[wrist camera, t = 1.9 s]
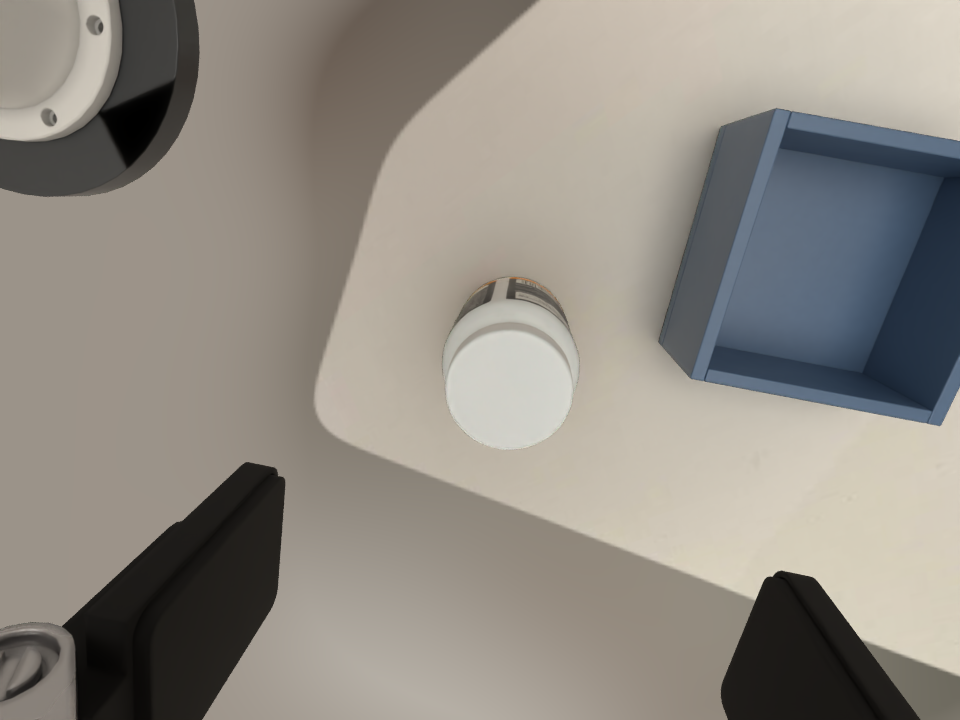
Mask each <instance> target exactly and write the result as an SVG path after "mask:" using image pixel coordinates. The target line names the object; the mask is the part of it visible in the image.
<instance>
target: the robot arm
mask: <svg viewBox="0 0 960 720" xmlns="http://www.w3.org/2000/svg"><path fill="white" fill-rule="evenodd" d="M121 56H122V20H121V13H120V6H119V0H0V138H1V139H6V140H15V141H24V142H41V141H50V140H54V139H58V138H62V137H65V136H68V135H69V134H71V133H73V132H75V131H77V130H79V129H80V128H82V127H84V126H85V125H86V124H87V123H88V122H89V121H90V120H91V119H92V118H93V117H95V116H96V115H97V114H98V112H99V111H100V109H101V108H102V106H103V105H104V104H105V102H106V101H107V99H108V98H109V96H110V94H111V91H112V89H113V86H114V84H115V81H116V79H117V76H118V71H119V66H120V61H121ZM284 495H285V479H284V478H283V477H280V476H278V472H277V469H275V468H274V467H269V466H264V465H259V464H254V463H249V462H246V463H244V464H243V465H241V466H240V467H239V468H238V469H237V470H236V471H235V472H234V473H233V474H232V475H231V476H230V477H229V478H228V479H227V480H226V481H224V482H223V483H222V484H221V485H220V486H219V487H218V488H217V489H216V490H215V491H214V492H213V493H212V494H211V495H210V496H208V498H206V499H205V500H204V501H203V502H202V503H201V504H200V505H199V506H198V507H197V508H196V509H195V510H194V511H192V512H191V513H190V514H189V515H188V516H187V517H186V518H185V519H184V520H183V521H180V522H176V523H175V524H173V525H172V526H170V527H169V528H168V529H167V530H166V531H165V532H164V533H163V534H161V536H159V537H158V538H157V539H156V540H155V541H154V542H153V543H152V544H151V545H150V546H148V547H147V548H146V549H145V550H144V551H143V552H142V553H141V554H140V555H139V556H138V557H137V558H135V559H134V560H133V561H132V562H131V563H130V564H129V565H128V566H127V567H126V568H125V569H124V570H122V571H121V572H120V573H119V574H118V575H117V576H116V577H115V578H114V579H113V580H112V581H111V582H109V584H107V585H106V586H105V587H104V588H103V589H102V590H101V591H100V592H99V593H98V594H96V595H95V596H94V597H93V598H92V599H91V600H90V601H89V602H88V603H87V604H86V605H85V606H84V607H82V608H81V609H80V610H79V611H78V612H77V613H76V614H75V615H74V616H73V617H72V618H70V619H69V620H68V621H67V622H66V623H65V624H64V625H63V626H62V627H61V626H58V625H54V624H51V623H39V622H38V623H36V622H30V623H23V624H17V625H12V626H8V627H5V628H2V629H0V720H202V719H203V717H204V716H205V714H206V713H207V711H208V709H209V708H210V706H211V705H212V703H213V701H214V700H215V698H216V696H217V695H218V693H219V692H220V690H221V688H222V687H223V685H224V684H225V682H226V681H227V679H228V677H229V676H230V674H231V673H232V671H233V669H234V668H235V666H236V665H237V663H238V661H239V660H240V658H241V656H242V655H243V653H244V652H245V650H246V649H247V647H248V645H249V644H250V642H251V640H252V639H253V637H254V636H255V634H256V632H257V631H258V629H259V628H260V626H261V624H262V623H263V621H264V620H265V618H266V616H267V615H268V613H269V612H270V610H271V608H272V606H273V604H274V601H275V598H276V595H277V590H278V578H279V577H278V576H279V564H280V550H281V536H282V522H283V509H284ZM721 699H722V704H723V708H724V710H725V713H726V715H727V718H728V720H920V719H919V717H918V716H917V715H916V713H915V712H914V710H913V709H912V708H911V706H910V705H909V704H908V703H907V701H906V700H905V698H904V697H903V696H902V694H901V693H900V692H899V690H898V689H897V688H896V686H895V685H894V684H893V682H892V681H891V680H890V678H889V677H888V676H887V674H886V673H885V671H884V670H883V669H882V667H881V666H880V665H879V663H878V662H877V661H876V659H875V658H874V657H873V656H872V654H871V653H870V651H869V650H868V649H867V647H866V646H865V645H864V643H863V642H862V641H861V639H860V638H859V636H858V635H857V634H856V632H855V631H854V630H853V628H852V627H851V626H850V624H849V623H848V622H847V620H846V619H845V618H844V616H843V615H842V614H841V612H840V611H839V610H838V608H837V607H836V606H835V604H834V603H833V602H832V600H831V599H830V597H829V596H828V595H827V593H826V592H825V591H824V589H823V588H822V587H821V585H820V584H819V583H818V582H817V581H816V580H815V579H814V578H812V577H810V576H805V575H800V574H795V573H790V572H785V571H778V572H777V573H775V574H774V576H773V577H767V578H766V579H765V580H764V582H763V584H762V586H761V589H760V591H759V594H758V596H757V599H756V601H755V604H754V606H753V609H752V611H751V613H750V616H749V618H748V621H747V623H746V626H745V628H744V631H743V633H742V636H741V638H740V640H739V643H738V645H737V648H736V650H735V653H734V655H733V658H732V661H731V663H730V665H729V667H728V670H727V672H726V675H725V677H724V680H723V683H722V687H721Z"/></svg>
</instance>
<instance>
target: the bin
mask: <svg viewBox="0 0 960 720" xmlns="http://www.w3.org/2000/svg"><path fill="white" fill-rule="evenodd" d="M659 343H660V345H661V346H662V347H663V348H664V349H665V350H666V351H667V353H668V354H669V355H670V356H671V357H672V358H673V359H674V360H675V362H676V363H677V364H678V365H679V366H680V367H681V368H682V369H683V371H684V372H685V373H686V374H687V375H688V376H689V377H690V378H691V379H695V380H700V381H705V382H711V383H716V384H721V385H726V386H732V387H737V388H742V389H748V390H753V391H758V392H763V393H769V394H774V395H779V396H784V397H790V398H795V399H800V400H805V401H811V402H816V403H821V404H827V405H832V406H837V407H842V408H848V409H853V410H858V411H863V412H869V413H874V414H879V415H885V416H890V417H895V418H900V419H906V420H911V421H916V422H921V423H927V424H932V425H937V426H941V424H942V422H943V420H944V418H945V416H946V414H947V412H948V410H949V408H950V406H951V404H952V402H953V400H954V398H955V396H956V393H957V391H958V389H959V387H960V141H956V140H951V139H945V138H939V137H934V136H928V135H923V134H917V133H911V132H906V131H900V130H895V129H889V128H883V127H878V126H872V125H867V124H861V123H855V122H850V121H844V120H839V119H833V118H828V117H822V116H816V115H811V114H805V113H800V112H794V111H792V112H791V111H789V110H783V109H777V108H776V109H773V110H770V111H767V112H764V113H760V114H757V115H754V116H751V117H748V118H745V119H742V120H739V121H736V122H733V123H730V124H727V125H724V126H721V128H720V131H719V135H718V138H717V142H716V145H715V148H714V152H713V155H712V159H711V162H710V166H709V169H708V173H707V176H706V180H705V183H704V187H703V190H702V193H701V197H700V200H699V204H698V207H697V211H696V214H695V218H694V221H693V225H692V228H691V231H690V235H689V238H688V242H687V245H686V249H685V252H684V256H683V259H682V263H681V266H680V269H679V273H678V276H677V280H676V283H675V287H674V290H673V294H672V297H671V301H670V304H669V308H668V311H667V314H666V318H665V321H664V325H663V328H662V332H661V335H660V339H659Z"/></svg>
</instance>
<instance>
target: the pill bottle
mask: <svg viewBox="0 0 960 720" xmlns="http://www.w3.org/2000/svg"><path fill="white" fill-rule="evenodd" d="M442 370H443V377H444V381H445V395H446V401H447V405H448V408H449V411H450V413H451V415H452V417H453V419H454V420H455V422H456V423H457V425H458V426H459V427H460V428H461V429H462V430H463V431H464V432H465V433H466V434H467V435H468V436H469V437H471V438H472V439H474V440H475V441H477V442H479V443H481V444H483V445H486V446H488V447H492V448H496V449H503V450H516V449H524V448H527V447H531V446H534V445H536V444H538V443H540V442H542V441H544V440H546V439H547V438H548V437H550V436H551V435H552V434H554V432H555V431H556V430H557V429H558V428H559V427H560V426H561V425H562V423H563V422H564V420H565V419H566V417H567V415H568V413H569V411H570V408H571V404H572V400H573V394H574V391H575V389H576V386H577V383H578V378H579V370H580V360H579V353H578V350H577V347H576V345H575V342H574V339H573V336H572V334H571V332H570V329H569V325H568V322H567V319H566V317H565V314H564V312H563V309H562V307H561V305H560V304H559V302H558V301H557V299H556V298H555V297H554V295H553V294H552V293H551V292H550V291H548V290H547V289H546V288H545V287H543V286H542V285H540V284H538V283H536V282H534V281H532V280H529V279H525V278H518V277H505V278H500V279H496V280H493V281H491V282H489V283H487V284H485V285H483V286H482V287H480V288H479V289H478V290H476V291H475V292H474V293H473V294H472V295H471V297H470V298H469V299H468V300H467V302H466V303H465V305H464V307H463V308H462V310H461V312H460V314H459V316H458V318H457V319H456V322H455V324H454V326H453V328H452V330H451V331H450V333H449V335H448V338H447V340H446V343H445V345H444V350H443V356H442Z"/></svg>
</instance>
